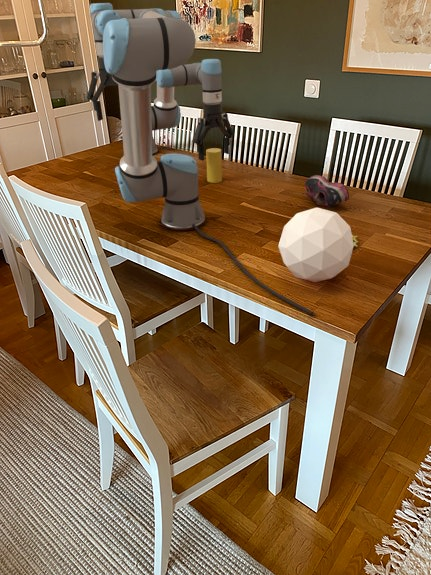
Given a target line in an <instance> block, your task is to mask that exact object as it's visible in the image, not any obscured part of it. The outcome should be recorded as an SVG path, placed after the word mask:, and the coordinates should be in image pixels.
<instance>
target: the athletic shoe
mask: <svg viewBox="0 0 431 575" xmlns="http://www.w3.org/2000/svg"><path fill="white" fill-rule="evenodd" d="M304 187H305V190H306V192H307V193H302V195H304V196H308V197H310V199H311V201H312V202H315V204H316V205H318V206H326V207H327V208H330V207H333V206H336V205H339V204H341V203H344V202H348V201H349V199H350V193H349V190H348V188H347V187H346V186H345V185H344V183H341V182H337V181H335V182H332V183H331V182H330V181H329V179H327V178H326V176H323V175H320V174H314V175H312V176H310V177H309V178H308V179H306V181H305V183H304Z"/></svg>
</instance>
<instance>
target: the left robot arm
mask: <svg viewBox="0 0 431 575" xmlns="http://www.w3.org/2000/svg"><path fill="white" fill-rule="evenodd" d="M163 11H164V12H165V15H166V17H168V18H180V19H182V20H183V18H182V16H181V14H180V13H179V11H177V10H170V9H168V10H163ZM221 62H222V61H221V60H220V59H218V58H206V59H202V60H201V62H193V63H189V64H182V65H180V66H178V67H176V68H173V69H166V70H157V71H156V81H155V82H156V98H154V99H153V105H151V119H152V132H154V131H160V130H166V129H168V130H169V129H170V130H171V129H172V128H177V127H178V126H179V124H180V122H181V116H182V115H181V114H182V113H181V107H180V105H179V104H178V102H177V100H175V88H176V87H177V88H178V87H184V86H197V85H201V88H202V103H203V104H202V110H203V115H204V117H197V124H196V128H195V131H194V133H193V137H192V142H191V143H192V144H196V152H197V153H198V160H199V161H202V162H203V161H205V150H204V148H205V147H204V143H203V142H204V140H205V138H206V137H207V134H208V133H209V131H210V130H211V129H214V128H218V129H219V131H220V132H221V134H223V136H224V137H223V154H226V155H230V146H231V139H232V138H233V136H234V135H235V133H234V130H233V127H232V125H231V123H230V120H229V115H228V113H225V112H223V103H222V102H223V97H222V92H223V90H222V88H223V86H222V71H223V70H222V63H221ZM119 139H121V140H122V141H123V137H122V136H121V135H120V137H119ZM158 152H159V150H158V145H157V143H156V141H155V138H154V134H153V133H152V156H153V155H155V154H158Z"/></svg>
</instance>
